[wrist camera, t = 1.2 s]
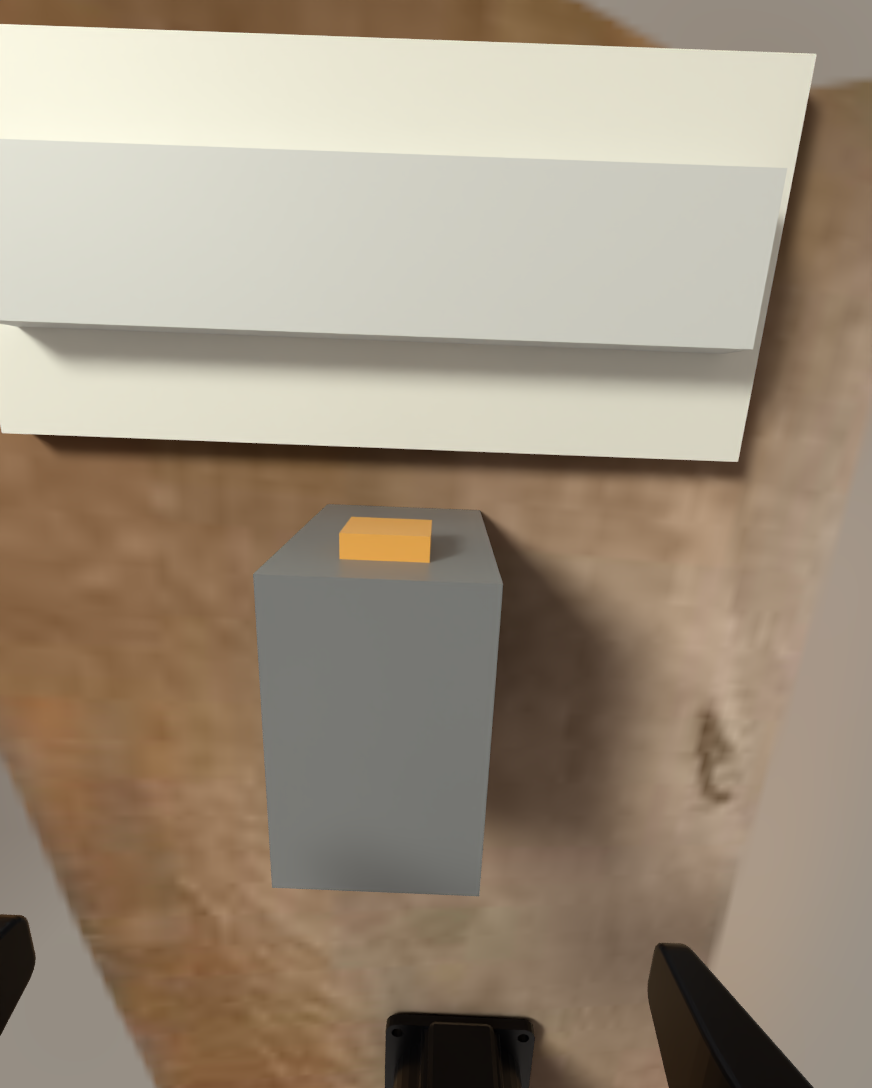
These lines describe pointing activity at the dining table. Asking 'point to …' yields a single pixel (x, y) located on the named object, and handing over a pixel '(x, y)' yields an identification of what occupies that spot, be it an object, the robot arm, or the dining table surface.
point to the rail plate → (403, 125)
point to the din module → (379, 699)
